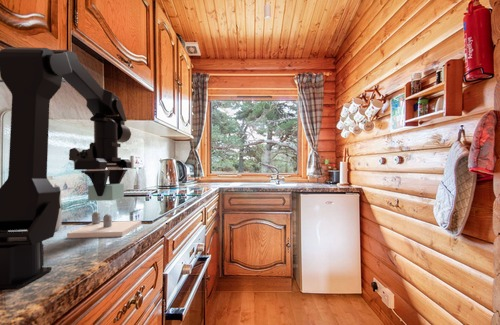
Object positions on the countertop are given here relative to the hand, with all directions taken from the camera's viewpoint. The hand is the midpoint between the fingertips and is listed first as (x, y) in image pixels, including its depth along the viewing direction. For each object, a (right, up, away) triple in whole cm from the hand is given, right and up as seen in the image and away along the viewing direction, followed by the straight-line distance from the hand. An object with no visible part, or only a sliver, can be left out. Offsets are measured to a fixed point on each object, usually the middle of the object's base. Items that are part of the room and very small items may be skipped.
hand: (106, 194), depth 69 cm
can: (-18, -11, 0) cm, 21 cm away
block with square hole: (0, -1, 0) cm, 1 cm away
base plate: (0, -10, 0) cm, 10 cm away
